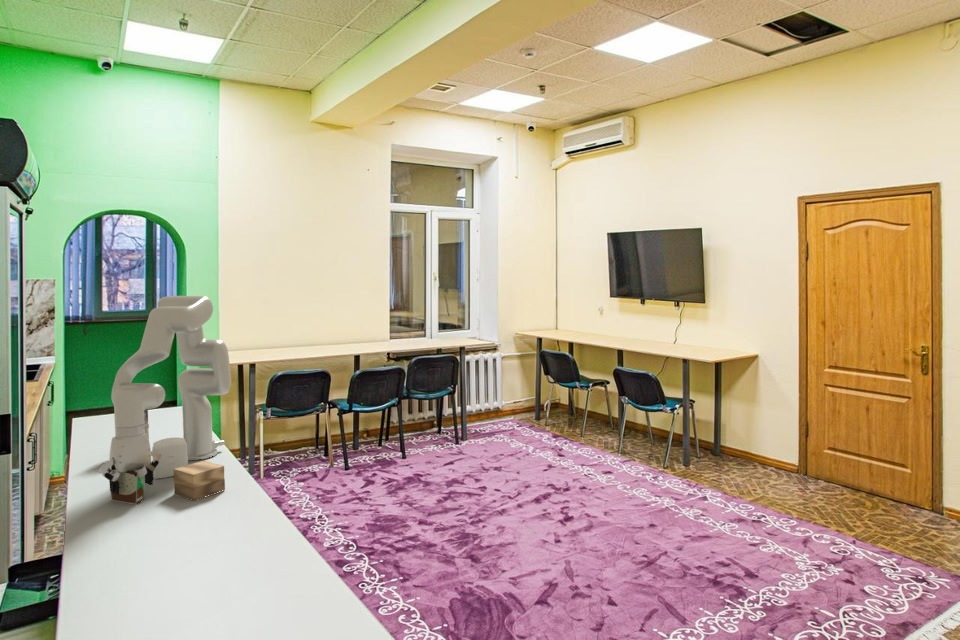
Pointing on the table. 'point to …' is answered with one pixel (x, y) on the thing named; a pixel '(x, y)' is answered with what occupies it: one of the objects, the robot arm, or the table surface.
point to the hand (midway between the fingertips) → (132, 488)
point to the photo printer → (170, 456)
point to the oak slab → (198, 474)
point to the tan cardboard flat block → (199, 490)
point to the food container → (130, 486)
